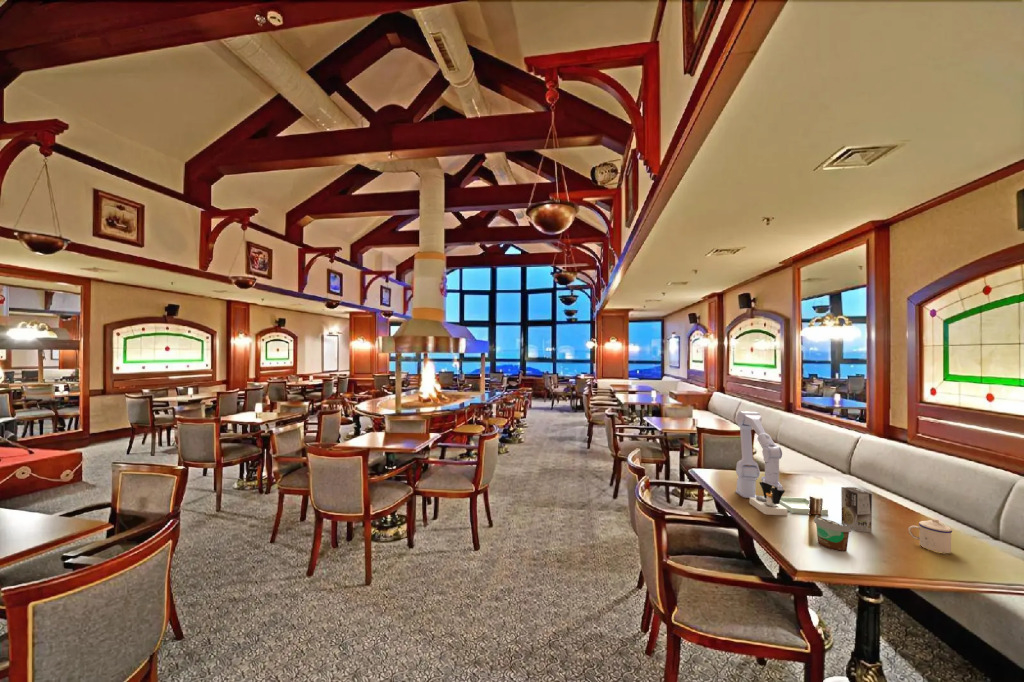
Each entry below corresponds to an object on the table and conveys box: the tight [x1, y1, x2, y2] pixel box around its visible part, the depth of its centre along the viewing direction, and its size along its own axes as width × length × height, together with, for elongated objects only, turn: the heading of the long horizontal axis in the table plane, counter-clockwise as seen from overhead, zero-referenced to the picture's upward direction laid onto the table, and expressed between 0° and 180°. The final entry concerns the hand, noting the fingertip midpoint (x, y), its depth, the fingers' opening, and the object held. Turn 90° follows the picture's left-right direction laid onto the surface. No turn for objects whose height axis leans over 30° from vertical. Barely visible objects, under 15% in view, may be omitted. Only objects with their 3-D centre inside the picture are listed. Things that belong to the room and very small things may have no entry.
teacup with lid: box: [908, 517, 953, 554], centre depth 162 cm, size 12×9×12 cm
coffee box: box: [840, 486, 873, 533], centre depth 180 cm, size 9×6×16 cm
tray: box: [779, 496, 829, 516], centre depth 201 cm, size 16×16×2 cm
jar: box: [766, 492, 776, 507], centre depth 195 cm, size 5×5×8 cm
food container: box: [813, 515, 852, 553], centre depth 160 cm, size 12×6×10 cm, turn 22°
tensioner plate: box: [749, 495, 788, 516], centre depth 198 cm, size 14×10×4 cm
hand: (771, 500), depth 195 cm, fingers open, 7 cm apart
